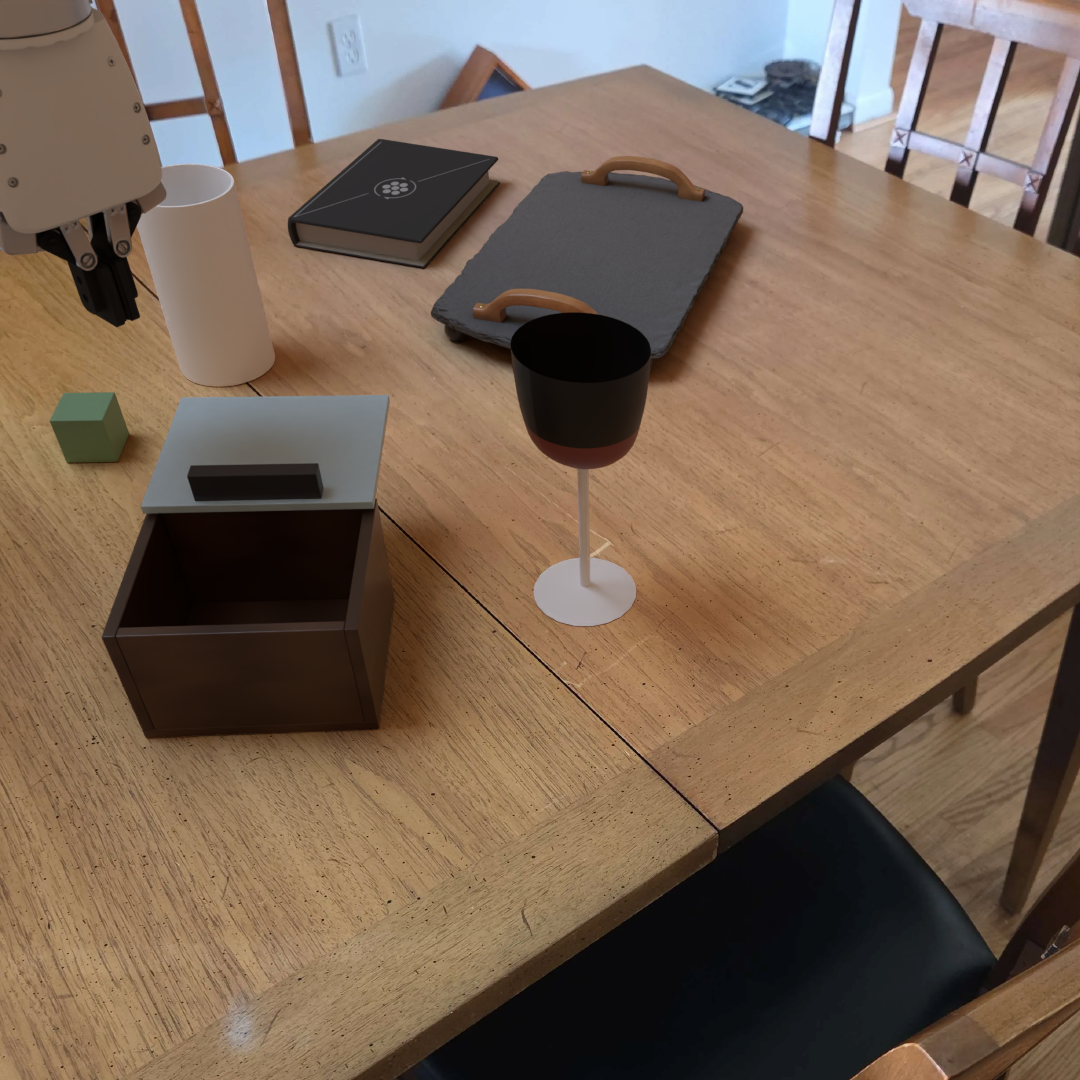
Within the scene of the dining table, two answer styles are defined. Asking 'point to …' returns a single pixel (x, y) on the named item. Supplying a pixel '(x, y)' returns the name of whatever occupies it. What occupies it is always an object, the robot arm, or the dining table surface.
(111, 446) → the block
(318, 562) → the case
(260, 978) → the dining table surface
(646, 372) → the wineglass
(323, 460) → the sliding box lid
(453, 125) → the dining table surface
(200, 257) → the cup
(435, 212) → the book
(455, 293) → the serving tray
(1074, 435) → the dining table surface
